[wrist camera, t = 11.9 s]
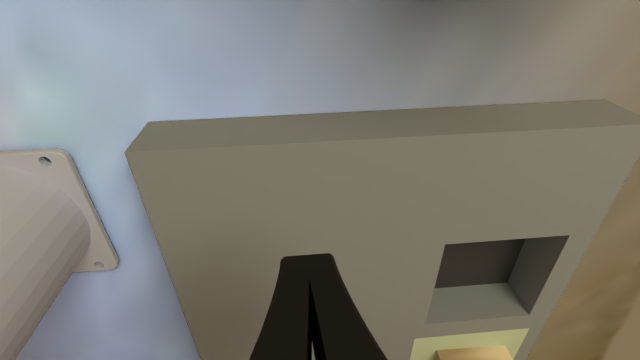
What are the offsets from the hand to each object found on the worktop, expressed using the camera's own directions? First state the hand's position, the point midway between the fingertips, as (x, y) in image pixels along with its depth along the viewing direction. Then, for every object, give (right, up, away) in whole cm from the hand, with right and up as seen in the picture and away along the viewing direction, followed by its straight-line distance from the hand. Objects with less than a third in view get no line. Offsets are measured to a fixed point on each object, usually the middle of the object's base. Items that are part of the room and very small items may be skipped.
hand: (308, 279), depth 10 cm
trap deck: (+4, -7, +16) cm, 18 cm away
